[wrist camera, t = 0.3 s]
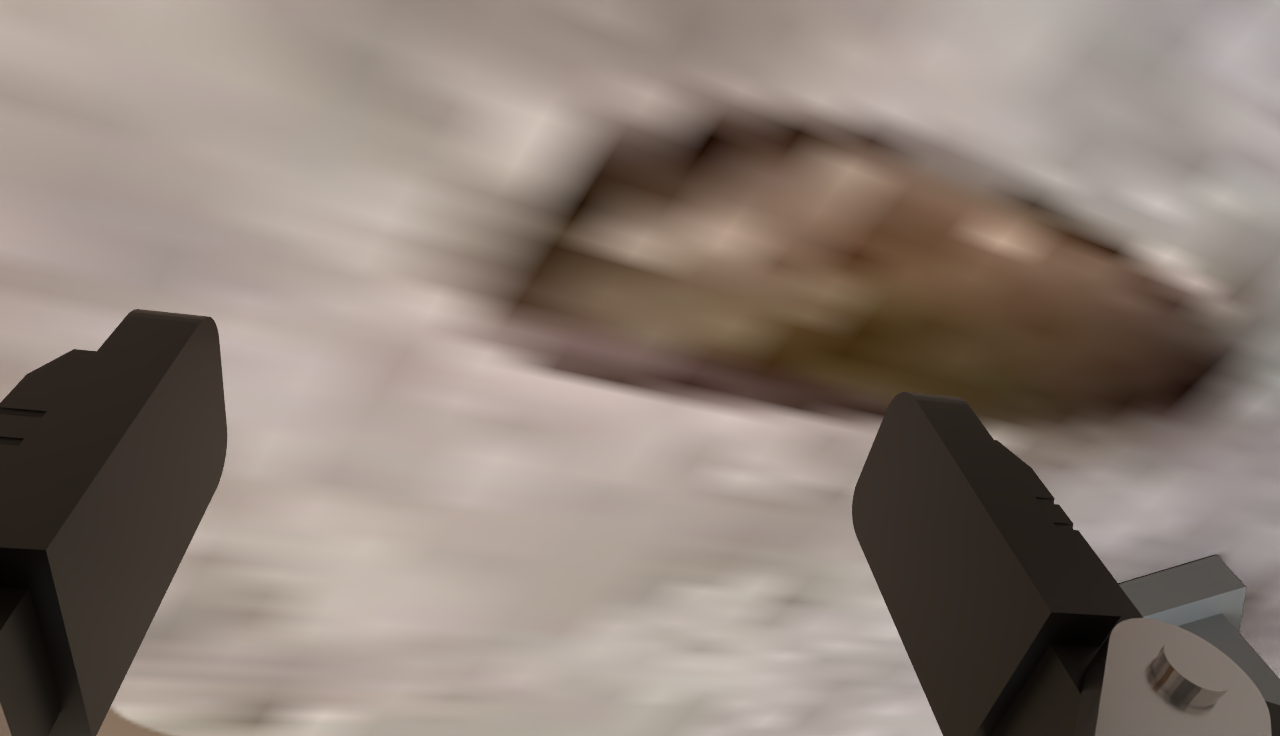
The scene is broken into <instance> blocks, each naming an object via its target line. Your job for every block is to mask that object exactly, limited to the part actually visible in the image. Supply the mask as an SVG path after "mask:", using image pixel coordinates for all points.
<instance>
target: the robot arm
mask: <svg viewBox="0 0 1280 736" xmlns="http://www.w3.org/2000/svg"><path fill="white" fill-rule="evenodd" d="M226 448H227V424H226V413H225V402H224V390H223V379H222V367H221V356H220V344H219V335H218V330H217V326H216V323H215V322H214V320H213V319H212V318H211V317H206V316H197V315H188V314H178V313H169V312H159V311H150V310H140V309H136V310H133V311H131V312H130V313H129V314H128V315H127V316H126V317H125V318H124V320H123V321H122V322H121V323H120V324H119V326H118V327H117V328H116V329H115V330H114V332H113V333H112V334H111V335H110V336H109V338H108V339H107V340H106V341H105V342H104V344H103V345H102V346H101V347H100V348H99V350H98V351H86V350H76V349H74V350H72V351H70V352H68V353H66V354H64V355H62V356H60V357H59V358H57V359H55V360H53V361H51V362H49V363H47V364H45V365H44V366H42V367H40V368H38V369H36V370H34V371H32V372H30V373H29V374H27V375H26V376H25V377H24V378H23V379H22V380H21V381H20V382H19V383H18V384H17V386H16V387H15V388H14V389H13V390H12V391H11V392H10V393H9V394H8V395H7V396H6V397H5V398H4V400H3V401H2V402H1V403H0V736H96V735H97V733H98V731H99V729H100V727H101V725H102V722H103V721H104V719H105V717H106V714H107V712H108V710H109V708H110V706H111V704H112V702H113V700H114V698H115V696H116V694H117V692H118V690H119V688H120V686H121V684H122V682H123V680H124V677H125V675H126V673H127V671H128V669H129V667H130V665H131V663H132V661H133V659H134V657H135V655H136V653H137V651H138V649H139V647H140V645H141V643H142V640H143V638H144V636H145V634H146V632H147V630H148V628H149V626H150V624H151V622H152V620H153V618H154V616H155V614H156V612H157V610H158V608H159V605H160V603H161V601H162V599H163V597H164V595H165V593H166V591H167V589H168V587H169V585H170V583H171V581H172V579H173V577H174V575H175V573H176V571H177V568H178V566H179V564H180V562H181V560H182V558H183V556H184V554H185V552H186V550H187V548H188V546H189V544H190V542H191V540H192V538H193V536H194V534H195V531H196V529H197V527H198V525H199V523H200V521H201V519H202V517H203V515H204V513H205V511H206V509H207V507H208V505H209V503H210V501H211V499H212V496H213V494H214V492H215V490H216V488H217V486H218V484H219V481H220V478H221V475H222V471H223V467H224V462H225V456H226ZM852 517H853V525H854V530H855V533H856V536H857V538H858V541H859V543H860V545H861V548H862V550H863V552H864V554H865V557H866V559H867V561H868V564H869V566H870V568H871V571H872V573H873V575H874V577H875V580H876V582H877V584H878V587H879V589H880V591H881V594H882V596H883V598H884V600H885V603H886V605H887V607H888V610H889V612H890V614H891V617H892V619H893V621H894V623H895V626H896V628H897V630H898V633H899V635H900V637H901V640H902V642H903V644H904V646H905V649H906V651H907V653H908V656H909V658H910V660H911V663H912V665H913V667H914V669H915V672H916V674H917V676H918V679H919V681H920V683H921V686H922V688H923V690H924V692H925V695H926V697H927V699H928V702H929V704H930V706H931V709H932V711H933V713H934V715H935V718H936V720H937V722H938V725H939V727H940V729H941V732H942V734H943V736H1280V705H1277V704H1274V703H1271V702H1268V701H1265V700H1264V698H1263V696H1262V694H1261V693H1260V691H1259V689H1258V688H1257V686H1256V685H1255V684H1254V683H1253V681H1252V680H1251V679H1250V677H1249V676H1248V675H1247V674H1246V673H1245V672H1244V671H1243V670H1242V669H1241V668H1240V667H1239V666H1238V665H1237V664H1236V663H1235V662H1234V661H1232V660H1231V659H1230V658H1229V657H1228V656H1227V655H1225V654H1224V653H1223V652H1221V651H1220V650H1219V649H1217V648H1216V647H1215V646H1213V645H1212V644H1210V643H1209V642H1207V641H1205V640H1204V639H1202V638H1200V637H1199V636H1197V635H1195V634H1193V633H1191V632H1189V631H1187V630H1185V629H1182V628H1180V627H1178V626H1175V625H1172V624H1169V623H1166V622H1163V621H1159V620H1154V619H1147V618H1143V616H1142V615H1141V614H1140V612H1139V611H1138V610H1137V608H1136V607H1135V606H1134V604H1133V603H1132V602H1131V600H1130V599H1129V598H1128V596H1127V595H1126V594H1125V592H1124V591H1123V590H1122V588H1121V587H1120V586H1119V584H1118V583H1117V582H1116V580H1115V579H1114V578H1113V576H1112V575H1111V574H1110V572H1109V571H1108V570H1107V568H1106V567H1105V566H1104V564H1103V563H1102V562H1101V560H1100V559H1099V558H1098V556H1097V555H1096V554H1095V552H1094V551H1093V550H1092V548H1091V547H1090V546H1089V544H1088V543H1087V541H1086V540H1085V539H1084V537H1083V536H1082V535H1081V533H1080V532H1079V531H1078V530H1073V523H1072V521H1071V520H1070V519H1069V517H1068V516H1067V515H1066V513H1065V512H1064V511H1063V509H1062V508H1061V507H1060V505H1056V504H1054V497H1053V496H1052V495H1051V493H1050V492H1049V491H1048V489H1047V488H1046V487H1045V485H1044V484H1043V483H1042V481H1041V480H1040V479H1039V477H1038V476H1037V475H1036V473H1035V472H1034V471H1033V469H1032V468H1031V467H1030V466H1028V465H1027V464H1026V463H1025V462H1023V461H1022V460H1021V459H1020V458H1018V457H1017V456H1016V455H1015V454H1013V453H1012V452H1011V451H1010V450H1008V449H1007V448H1006V447H1005V446H1003V445H1002V444H1001V443H1000V442H998V441H997V440H994V439H993V438H992V437H991V435H990V434H989V433H988V431H987V430H986V428H985V427H984V426H983V424H982V423H981V421H980V420H979V419H978V417H977V416H976V415H975V413H974V412H973V410H972V409H971V408H970V406H969V405H968V404H967V403H966V401H964V400H963V399H961V398H958V397H948V396H939V395H929V394H920V393H910V392H902V393H899V394H898V395H896V396H895V397H894V398H893V400H892V401H891V403H890V404H889V406H888V409H887V411H886V413H885V416H884V418H883V421H882V423H881V426H880V428H879V430H878V433H877V435H876V438H875V440H874V443H873V445H872V448H871V450H870V452H869V455H868V457H867V460H866V462H865V465H864V467H863V470H862V472H861V474H860V477H859V479H858V482H857V485H856V487H855V491H854V496H853V504H852Z"/></svg>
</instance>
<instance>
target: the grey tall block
mask: <svg viewBox="0 0 1280 736" xmlns="http://www.w3.org/2000/svg"><path fill="white" fill-rule="evenodd" d="M1119 586H1120V587H1121V588H1122V590H1123V591H1124V592H1125V594H1126V595H1127V596H1128V598H1129V599H1130V600H1131V602H1132V603H1133V604H1134V606H1135V607H1136V608H1137V610H1138V611H1139V612H1140V614H1141V615H1142V616H1143V618H1147V619H1154V620H1159V621H1163V622H1166V623H1169V624H1172V625H1175V626H1178V627H1180V628H1182V629H1185V630H1187V631H1189V632H1191V633H1193V634H1195V635H1197V636H1199V637H1200V638H1202V639H1204V640H1205V641H1207V642H1209V643H1210V644H1212V645H1213V646H1215V647H1216V648H1217V649H1219V650H1220V651H1221V652H1223V653H1224V654H1225V655H1227V656H1228V657H1229V658H1230V659H1231V660H1232V661H1234V662H1235V663H1236V664H1237V665H1238V666H1239V667H1240V668H1241V669H1242V670H1243V671H1244V672H1245V673H1246V674H1247V675H1248V676H1249V677H1250V679H1251V680H1252V681H1253V683H1254V684H1255V685H1256V686H1257V688H1258V689H1259V691H1260V693H1261V694H1262V696H1263V698H1264V700H1265V701H1268V702H1271V703H1274V704H1277V705H1280V679H1279V678H1278V677H1277V676H1276V674H1275V673H1274V672H1273V671H1272V670H1271V669H1270V668H1269V666H1268V665H1267V664H1266V663H1265V662H1264V661H1263V660H1262V658H1261V657H1260V656H1259V655H1258V654H1257V653H1256V652H1255V650H1254V649H1253V648H1252V647H1251V646H1250V645H1249V644H1248V642H1247V641H1246V640H1245V639H1244V638H1243V637H1242V636H1241V634H1240V633H1239V630H1240V623H1241V617H1242V611H1243V604H1244V598H1245V591H1246V586H1245V585H1244V584H1243V583H1242V581H1241V580H1240V579H1239V578H1238V577H1237V576H1236V575H1235V574H1234V573H1233V572H1232V571H1231V570H1230V569H1229V568H1228V567H1227V565H1226V564H1225V563H1224V562H1223V561H1222V560H1221V559H1220V558H1219V557H1218V556H1217V555H1215V556H1211V557H1208V558H1205V559H1201V560H1198V561H1195V562H1191V563H1188V564H1184V565H1181V566H1178V567H1174V568H1171V569H1168V570H1164V571H1161V572H1158V573H1154V574H1151V575H1148V576H1144V577H1141V578H1137V579H1134V580H1131V581H1127V582H1124V583H1121V584H1119Z"/></svg>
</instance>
